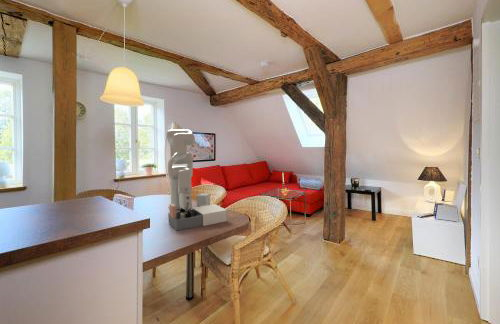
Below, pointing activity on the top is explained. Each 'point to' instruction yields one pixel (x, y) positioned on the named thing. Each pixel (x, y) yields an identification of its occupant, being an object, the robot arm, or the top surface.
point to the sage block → (182, 215)
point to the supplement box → (203, 199)
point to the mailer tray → (184, 223)
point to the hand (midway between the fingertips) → (185, 217)
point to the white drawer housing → (212, 214)
